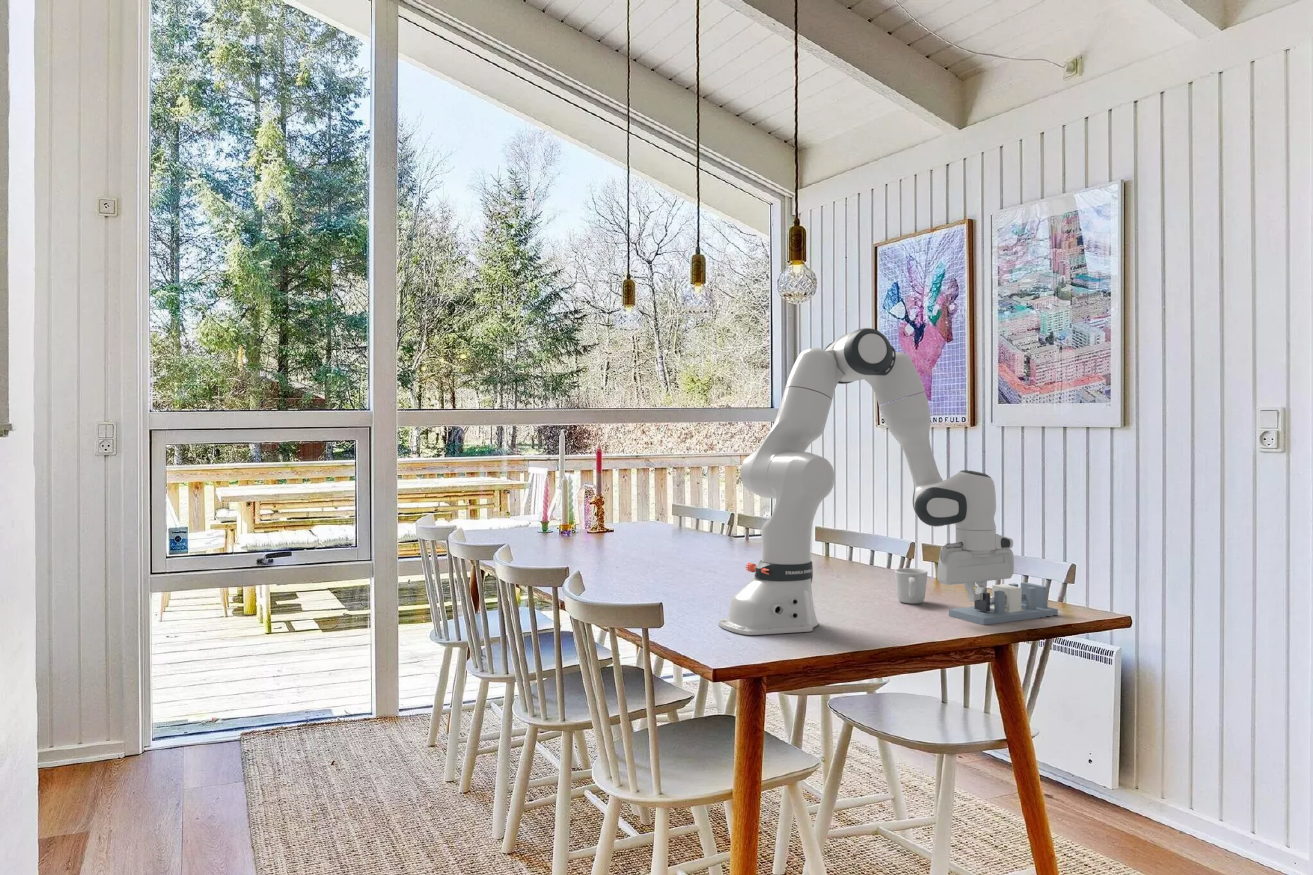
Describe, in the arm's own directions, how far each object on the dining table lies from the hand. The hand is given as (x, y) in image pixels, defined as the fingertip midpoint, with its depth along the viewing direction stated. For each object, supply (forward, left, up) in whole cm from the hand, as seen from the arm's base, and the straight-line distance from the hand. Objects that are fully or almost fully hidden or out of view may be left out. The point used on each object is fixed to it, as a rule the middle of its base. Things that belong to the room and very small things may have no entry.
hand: (975, 600), depth 218 cm
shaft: (+8, 0, -2) cm, 9 cm away
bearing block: (+9, 0, -4) cm, 10 cm away
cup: (-1, +21, -5) cm, 22 cm away
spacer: (+10, 0, -3) cm, 10 cm away
